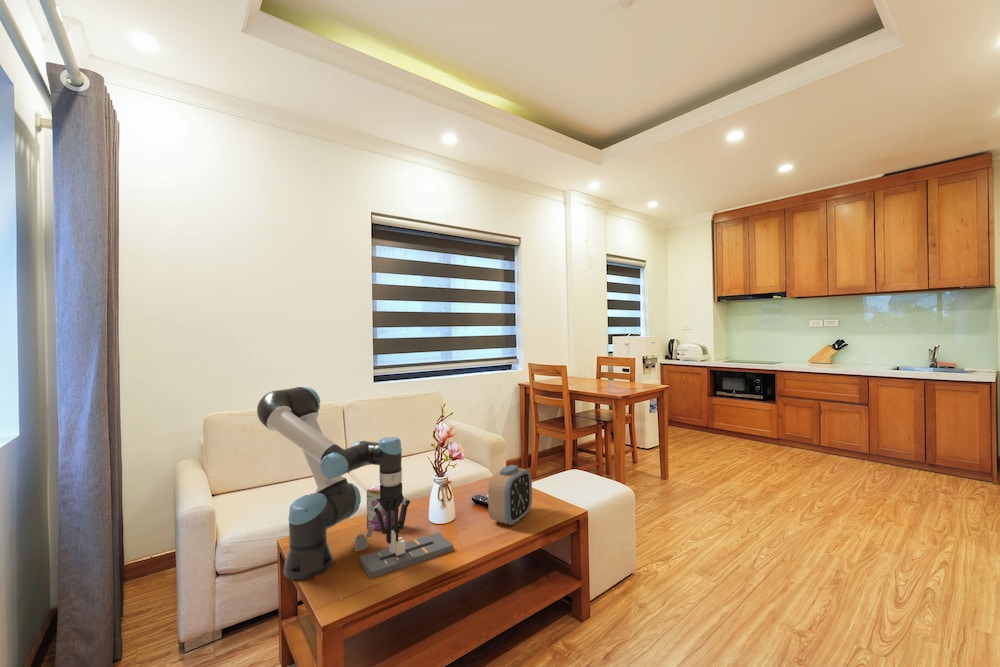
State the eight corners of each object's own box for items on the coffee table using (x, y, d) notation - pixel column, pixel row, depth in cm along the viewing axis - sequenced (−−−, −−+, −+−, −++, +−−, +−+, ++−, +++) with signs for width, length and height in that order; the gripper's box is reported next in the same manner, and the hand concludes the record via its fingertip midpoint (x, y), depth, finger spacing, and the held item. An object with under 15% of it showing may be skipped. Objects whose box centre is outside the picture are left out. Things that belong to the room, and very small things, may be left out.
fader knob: (396, 561, 145) (396, 544, 145) (392, 555, 148) (391, 538, 148) (405, 558, 147) (405, 541, 147) (400, 553, 150) (400, 536, 150)
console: (370, 578, 136) (370, 571, 136) (360, 562, 146) (359, 555, 146) (453, 550, 153) (453, 544, 153) (438, 537, 163) (438, 531, 163)
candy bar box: (366, 530, 170) (365, 489, 170) (371, 524, 175) (370, 485, 175) (393, 531, 169) (392, 490, 169) (397, 525, 174) (397, 485, 174)
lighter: (355, 551, 153) (355, 529, 153) (354, 549, 155) (354, 527, 155) (375, 546, 157) (375, 525, 157) (374, 544, 158) (374, 523, 158)
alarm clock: (508, 532, 166) (508, 477, 166) (488, 526, 171) (487, 473, 171) (532, 512, 184) (532, 463, 184) (513, 508, 189) (513, 460, 189)
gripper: (375, 490, 139) (377, 561, 139) (412, 482, 147) (414, 550, 146) (369, 484, 146) (370, 552, 145) (405, 476, 153) (406, 541, 153)
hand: (392, 551), depth 146 cm, fingers closed
